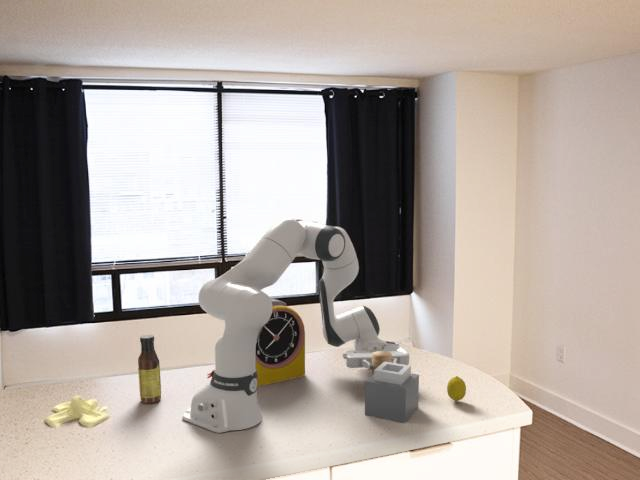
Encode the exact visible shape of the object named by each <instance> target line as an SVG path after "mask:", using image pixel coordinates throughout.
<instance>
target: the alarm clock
mask: <svg viewBox="0 0 640 480" xmlns="http://www.w3.org/2000/svg"><path fill="white" fill-rule="evenodd" d="M270 299H271V301H272V306H273V309H272V314H271V317H270V319H269V320H268V322H267V323H266V324H265V325H263V326H262V327H261V329H260V331H259V334H258V337H257V341H256V369H257V387H261V386H264V385H265V386H266V385H269V384H274V383H279V382H283V381H287V379H288V380H292V379H296V378H300V376H301V377H304V375H305V376H306V331H305V330H306V329H305V325H304V322H303V319H302V317H301V316H300V315H299V314H298V312H297V311H296V310H294V309H292V308H291V307H288V306H287V303H286V302H284V301H281V300H279V299H274V298H270ZM295 377H296V378H295ZM291 378H292V379H291Z"/></svg>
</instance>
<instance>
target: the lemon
mask: <svg viewBox="0 0 640 480" xmlns="http://www.w3.org/2000/svg"><path fill="white" fill-rule="evenodd" d="M446 386H447V387H446V392H447V395H448V397H449V399H451V400H453V402H456V403H458V401H460V400H463V399H464V398H465V396H466V393H467V388H466V387H467V386H466V382H465V381H464V379H462V378H461V377H459V376H456V375H455V376H454V377H451V378H450V379H449V380H448V382H447V385H446Z"/></svg>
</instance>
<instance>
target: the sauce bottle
mask: <svg viewBox="0 0 640 480" xmlns="http://www.w3.org/2000/svg"><path fill="white" fill-rule="evenodd" d="M154 341H155V335H153V334H144V335H141V336H140V337H139V342H140V346H141V348H140V351H141V352H140V354H139V356H138V358H137V361H138V362H137V363H138V368H137V370H138V385H139V396H140V401H141V402H142V403H143V404H155V403H157V402H159V401H161V399H162V381H161V366H160V359H159V357H158V355H157V352H156V349H155V342H154Z"/></svg>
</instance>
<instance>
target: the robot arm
mask: <svg viewBox="0 0 640 480" xmlns="http://www.w3.org/2000/svg"><path fill="white" fill-rule="evenodd" d="M297 255H298V256H302V257H304V258H306V259H310V260H319V261H322V265H323V274H322V276H321V278H320V279H319V280H318V296H319V305H320V312H321V320H322V335H323V338H324V341H326V343H327V345H330V346H332V347H336V348H339V347H341V346H343V345H345V344H347V343H349V342H352V343H353V344H352V345H353V347H354V349H353V350H352V349H351V350H348V351H346V353H342V358H343V359H344V360H345V365H346V367H347V368H350V369H355V368H356V369H357V368H358V369H359V368H365V369H367V370H368V371H372V370H373V364H372V353H373V352H376V351H386V352H390V353H391V354H392V363H397V364H403V365H409V364H410V354H409V352H408V351H407V350H406V349H405V348H404V347H402V346H400V344H399V342H395V341H389V340H382V339H379V337H378V336H379V335H380V330H381V329H380V324H379V322H378V319H377V316H376V314H375V313H374V312H373V310H372V309H370V308H369V307H368V306H365V305H360V306H357V307H354V308H352V309H350V310H348V311H345V312H342V313H339V314H337V315H335V307H334V300H335V298H336V297H337V296H338V295H339V294H340V293H341V292H342V291H343V290H344V289H346V288H347V287H348V286H350V285H351V284H352V283H353V282H354V281H355V279H356V278H357V276H358V274H359V269H360V265H359V259H358V257H357V252H356V249H355V247H354V244H353V242H352V241H351V238H350V236H349V234H348V233H347V231H346V230H345V228H342V227H341V226H333V225H327V224H324V223H320V222H318V221H313V220H303V219H294V218H291V217H285V218H282V219H279V220H278V222H277V223H275V224H274V225H273V226H272V227H271V228H270V229H269V230H268V231H266V232H265V234H264V235H263V236H261V238H260V240H259V241H258V242H257V243H255V245H254V247H253V248H252V249H251V250H250V251H249V252H248V254H247V255H246V256H245V257H244V258H243V259H242V260H241V261H239V262H238V263H237V264H236V265H234V266H233V267H231V268H229V270H228V271H226V272H225V273H223V274H222V275H220V276H218V277H217V278H213V279H211V280H209V281H206V282H205V283H204V284H203V285H202V286H201V288H200V290H199V293H198V303H199V306H200V308H201V309H202V310H203V311H204V312H206V314H208V315H210V317H212V318H215V319H218V320H220V321H223V322H224V330H223V334H222V337H221V338H220V339H218V340H217V341H216V343H215V345H214V357H215V358H214V360H215V361H214V362H215V363H214V364H215V365H214V367H215V368H214V369H213V370H212V371H211V372H209V373H208V374H207V377H206V378H207V379H209V378H211V379H210V382H209V383H207V384H206V385H205V386H204V387H202V388H200V389H199V390H198V391H196V393H195V394H194V395H193V396H192V399H191V404H190V407H188V408H187V409H186V410H185V411H184V412H183V414H182V420H183V421H186V422H188V423H191V424H193V425H195V426H198V427H200V428H204V429H206V430H209V431H211V432H213V433H217V434H221V433H226V432H230V431H241V430H245V429H250V428H252V427H253V428H254V427H255V426H257V425H258V424H260V423H261V421H262V420H263V416H262V412H261V409H260V404H259V399H258V391H257V390H258V386H257V369H256V341H257V337H258V334H259V331H260V329H261V327H262V326H263V325H265V324H266V323H267V322H268V320H269V319H270V317H271V314H272V309H273V306H272V301H271V299H272V298H271V297H270V296H269V295H268V294H266V293H265V292H264V291H263V289H266V288H268V287H270V286H273V285H275V284H276V283H277V282H278V281H279V279H280V278H281V276H282V275H283V274H284V273H285V271H286V270H287V269H288V268H289V267H290V265H291V264H292V262H293V261H294V260H295V258H296V257H297ZM409 366H410V365H409Z"/></svg>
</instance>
